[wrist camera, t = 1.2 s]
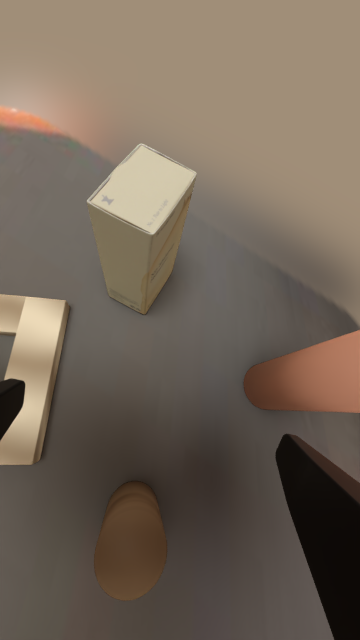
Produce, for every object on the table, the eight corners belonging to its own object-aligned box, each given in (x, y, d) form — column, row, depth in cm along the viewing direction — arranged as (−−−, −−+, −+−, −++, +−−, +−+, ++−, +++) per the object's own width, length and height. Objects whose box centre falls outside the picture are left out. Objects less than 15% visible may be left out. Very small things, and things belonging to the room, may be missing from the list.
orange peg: (287, 410, 24) (467, 415, 11) (245, 408, 23) (383, 413, 10) (282, 365, 26) (436, 323, 13) (242, 362, 25) (361, 315, 12)
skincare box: (144, 316, 25) (153, 241, 13) (105, 295, 25) (81, 202, 13) (173, 270, 27) (201, 172, 16) (137, 250, 27) (140, 139, 16)
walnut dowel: (156, 541, 19) (165, 597, 13) (102, 543, 18) (88, 603, 13) (159, 480, 20) (168, 509, 15) (109, 481, 20) (99, 511, 14)
